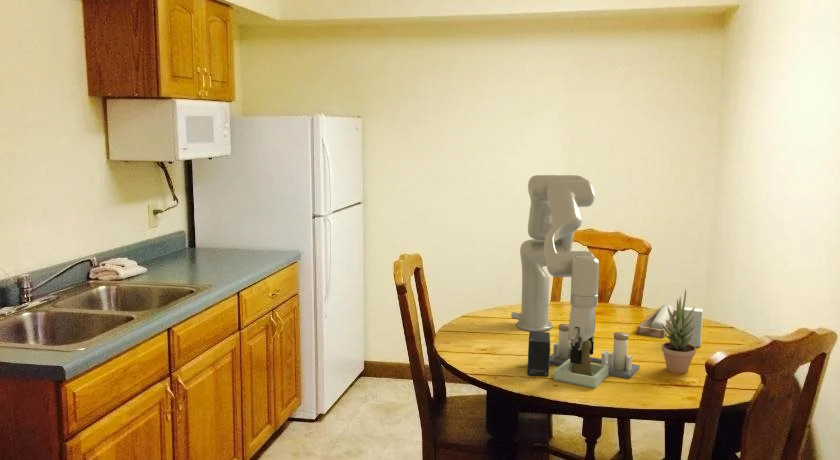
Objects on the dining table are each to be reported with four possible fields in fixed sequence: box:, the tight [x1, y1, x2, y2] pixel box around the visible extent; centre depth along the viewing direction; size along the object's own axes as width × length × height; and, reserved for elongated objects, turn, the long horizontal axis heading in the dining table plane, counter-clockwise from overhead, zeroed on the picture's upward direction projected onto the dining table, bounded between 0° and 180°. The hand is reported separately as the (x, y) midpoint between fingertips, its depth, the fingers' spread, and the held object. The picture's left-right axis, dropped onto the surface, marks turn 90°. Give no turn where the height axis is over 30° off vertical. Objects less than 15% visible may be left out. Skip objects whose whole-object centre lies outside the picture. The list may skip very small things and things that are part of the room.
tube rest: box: [636, 307, 677, 338], centre depth 263 cm, size 9×30×2 cm, turn 148°
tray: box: [553, 359, 609, 390], centre depth 209 cm, size 12×12×3 cm
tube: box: [650, 303, 675, 329], centre depth 263 cm, size 5×5×25 cm
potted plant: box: [661, 288, 697, 374], centre depth 214 cm, size 10×10×25 cm
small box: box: [526, 331, 551, 377], centre depth 215 cm, size 11×6×10 cm, turn 170°
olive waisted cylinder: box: [571, 338, 592, 376], centre depth 208 cm, size 6×6×11 cm
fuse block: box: [549, 323, 641, 380], centre depth 219 cm, size 26×10×11 cm, turn 58°
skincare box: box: [684, 306, 704, 348], centre depth 240 cm, size 6×4×12 cm
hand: (581, 358), depth 208 cm, fingers open, 9 cm apart
